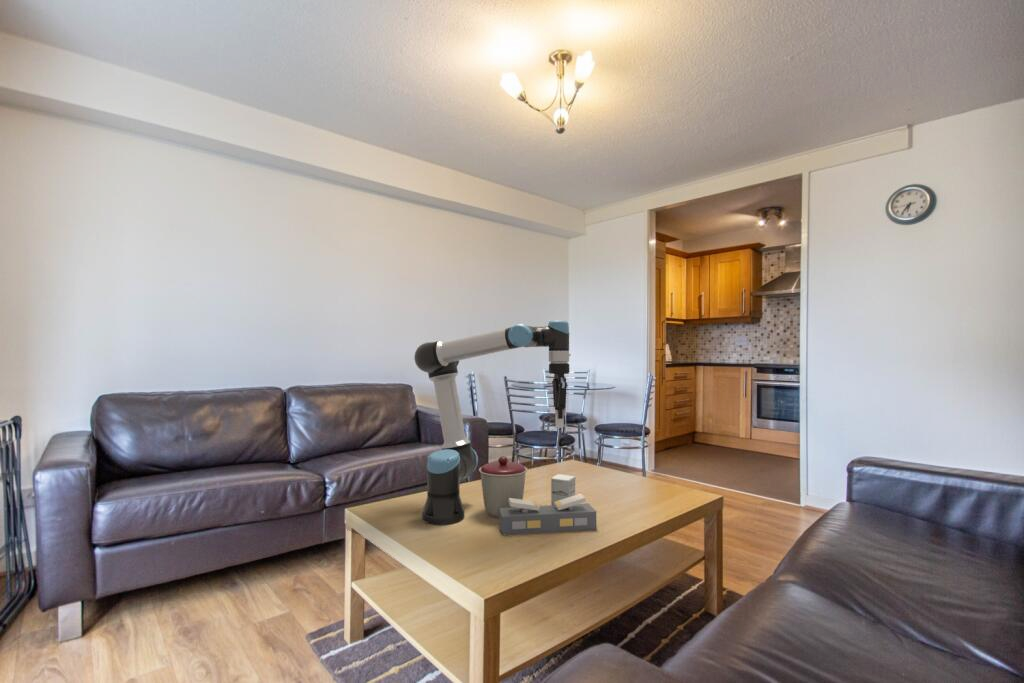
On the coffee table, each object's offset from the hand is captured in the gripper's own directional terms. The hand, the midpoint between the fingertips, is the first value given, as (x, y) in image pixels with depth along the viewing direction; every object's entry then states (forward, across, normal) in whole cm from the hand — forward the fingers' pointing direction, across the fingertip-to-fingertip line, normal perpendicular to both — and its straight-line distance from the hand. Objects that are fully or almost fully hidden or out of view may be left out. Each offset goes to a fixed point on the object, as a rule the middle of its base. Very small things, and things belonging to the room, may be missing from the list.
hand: (559, 427), depth 173 cm
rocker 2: (+24, -10, -1) cm, 26 cm away
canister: (+33, +7, +20) cm, 39 cm away
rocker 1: (+24, -10, +15) cm, 30 cm away
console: (+32, -10, +7) cm, 34 cm away
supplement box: (+33, +7, -3) cm, 34 cm away
